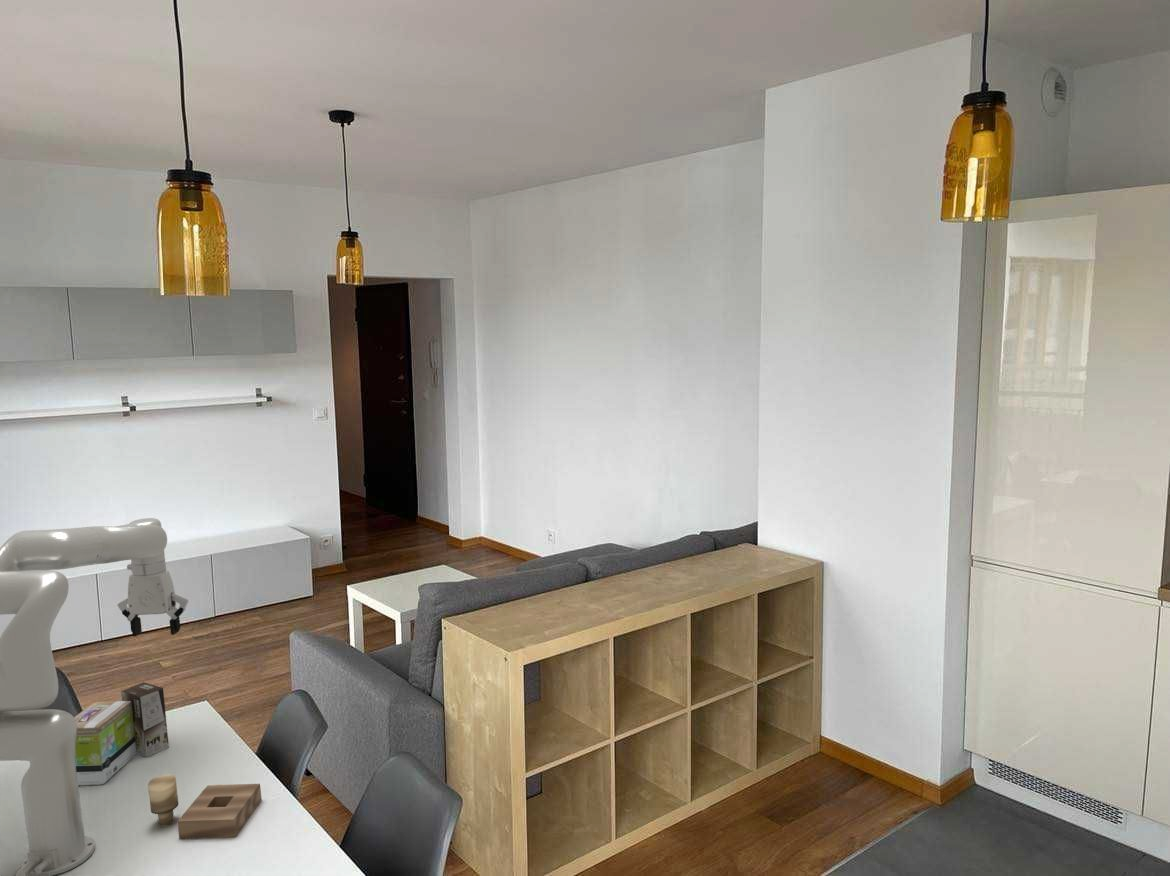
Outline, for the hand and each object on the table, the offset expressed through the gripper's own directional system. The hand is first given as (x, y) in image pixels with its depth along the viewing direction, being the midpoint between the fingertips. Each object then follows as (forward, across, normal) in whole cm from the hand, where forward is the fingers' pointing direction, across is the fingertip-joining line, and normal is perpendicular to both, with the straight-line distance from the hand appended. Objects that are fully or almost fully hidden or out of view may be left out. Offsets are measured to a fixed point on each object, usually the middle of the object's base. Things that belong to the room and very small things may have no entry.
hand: (156, 633), depth 212 cm
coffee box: (+31, -6, +1) cm, 32 cm away
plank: (+31, +28, -33) cm, 53 cm away
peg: (+31, +16, -33) cm, 48 cm away
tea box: (+31, -12, -9) cm, 35 cm away
